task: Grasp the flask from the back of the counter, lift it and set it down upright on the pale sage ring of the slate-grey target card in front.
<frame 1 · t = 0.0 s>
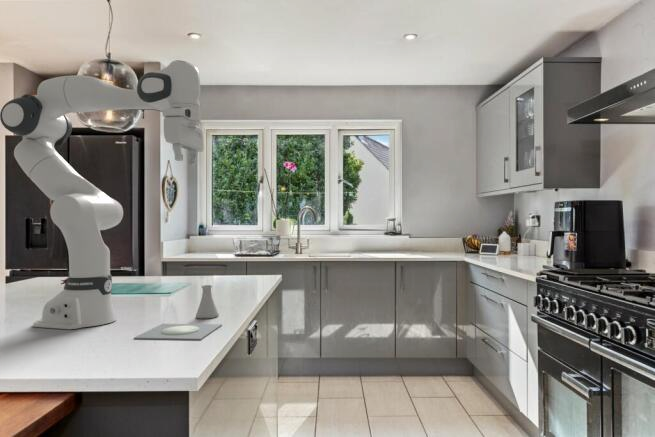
hand: (185, 162, 134), 48 cm above the countertop, fingers open, 8 cm apart
flask: (207, 317, 144), on the countertop
target card: (180, 332, 124), on the countertop
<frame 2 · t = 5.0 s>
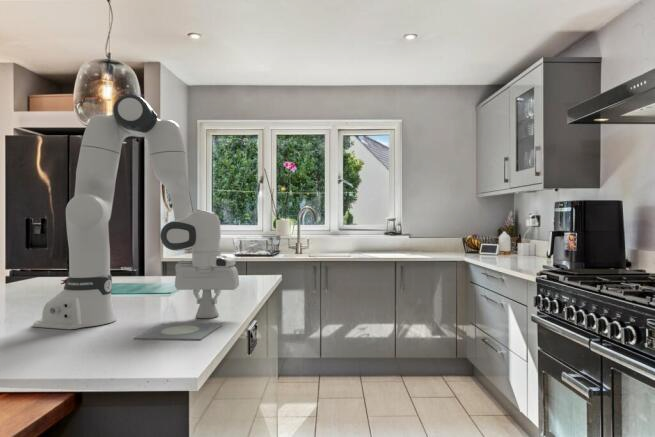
hand: (207, 303, 144), 4 cm above the countertop, fingers closed on flask, 3 cm apart
flask: (207, 317, 144), on the countertop, touching gripper
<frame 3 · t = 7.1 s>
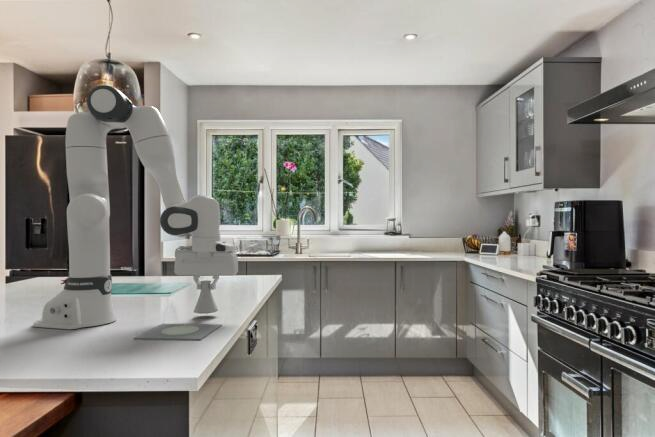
hand: (206, 289, 144), 9 cm above the countertop, fingers closed on flask, 3 cm apart
flask: (205, 312, 143), point 1 cm above the countertop, touching gripper
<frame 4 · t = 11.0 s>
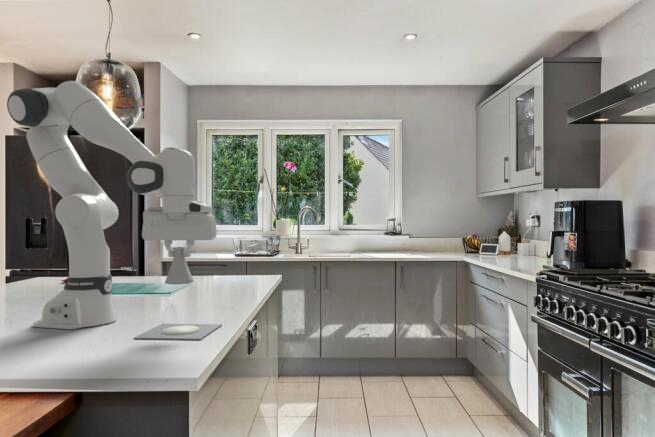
hand: (179, 257, 124), 21 cm above the countertop, fingers closed on flask, 3 cm apart
flask: (179, 284, 124), point 13 cm above the countertop, touching gripper
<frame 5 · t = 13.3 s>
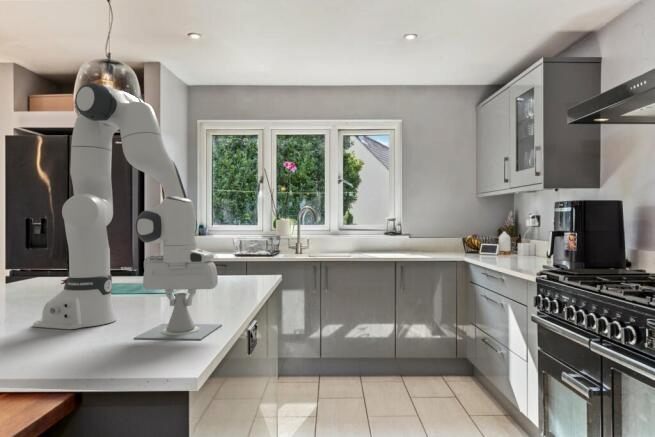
hand: (180, 305, 124), 7 cm above the countertop, fingers closed on flask, 3 cm apart
flask: (180, 330, 124), resting on target card, touching gripper
when the fingers open (7 cm above the countertop, at t = 14.2 s): flask stays where it is, resting on target card.
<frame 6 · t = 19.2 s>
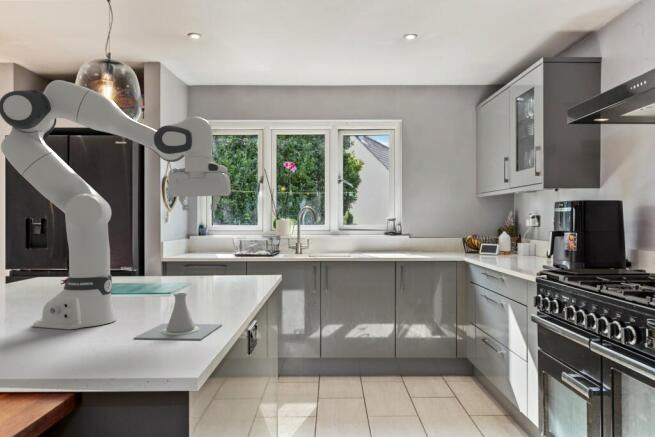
hand: (199, 210, 146), 34 cm above the countertop, fingers open, 8 cm apart
flask: (180, 330, 124), resting on target card
at the end: flask inside the target area on the target card (0.1 cm from its centre), point 0.4 cm above the target card's base; flask tilted 0°; the gripper is holding nothing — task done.
